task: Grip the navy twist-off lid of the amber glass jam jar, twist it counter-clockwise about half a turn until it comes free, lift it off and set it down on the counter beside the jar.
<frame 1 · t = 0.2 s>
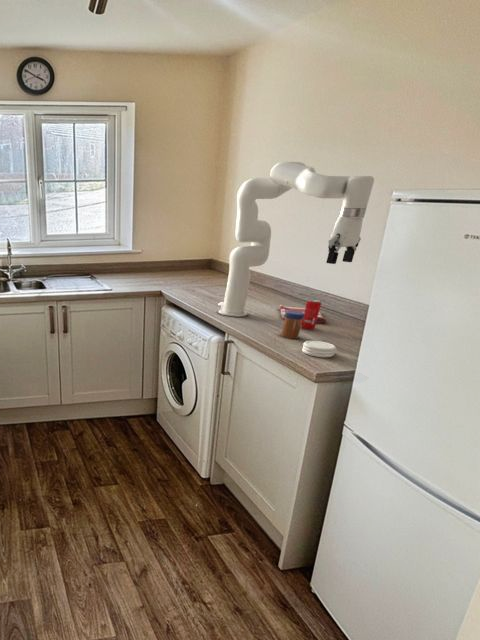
hand: (339, 262, 169), 30 cm above the worktop, tool pointing down, fingers open, 9 cm apart
coaster: (317, 354, 166), on the worktop
jam jar: (289, 336, 185), on the worktop
jam lid: (295, 313, 181), point 10 cm above the worktop, screwed on, not yet turned
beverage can: (307, 328, 196), on the worktop
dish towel: (300, 316, 215), on the worktop
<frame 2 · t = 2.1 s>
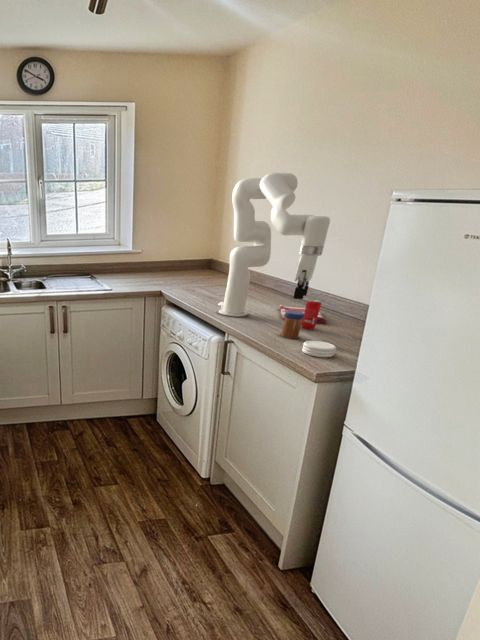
hand: (299, 296, 178), 16 cm above the worktop, tool pointing down, fingers open, 7 cm apart
nothing on the worktop moved.
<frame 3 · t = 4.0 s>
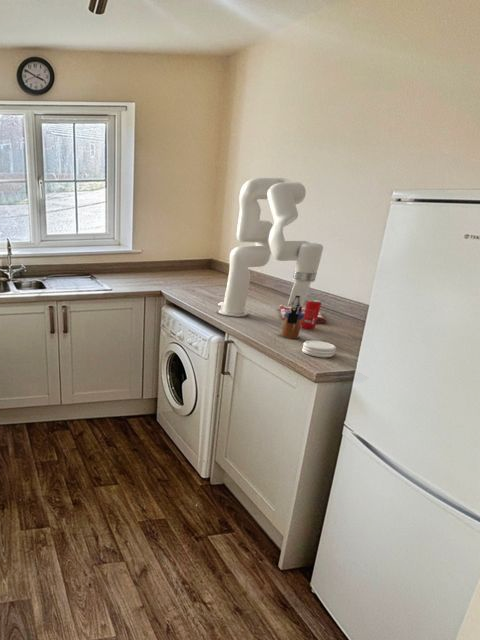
hand: (293, 321, 182), 6 cm above the worktop, tool pointing down, fingers closed on jam lid, 6 cm apart
jam lid: (295, 313, 181), point 10 cm above the worktop, screwed on, not yet turned, touching gripper
everything else where it was.
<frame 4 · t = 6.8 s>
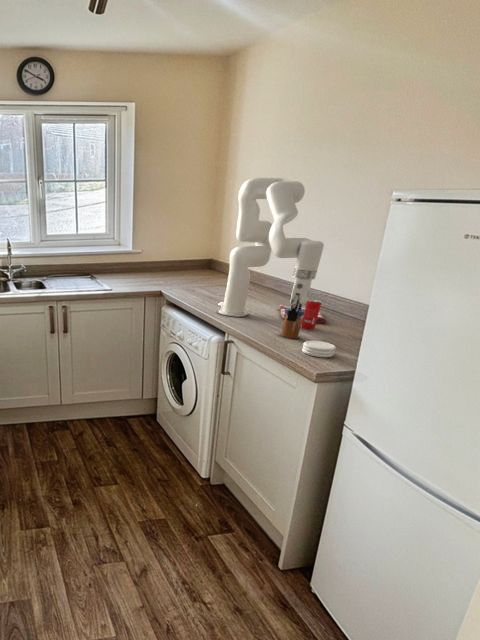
hand: (293, 318, 182), 7 cm above the worktop, tool pointing down, fingers closed on jam lid, 6 cm apart
jam jar: (289, 336, 185), on the worktop, touching gripper, jam lid
jam lid: (294, 310, 181), point 11 cm above the worktop, off its thread, touching gripper, jam jar
everything else where it was.
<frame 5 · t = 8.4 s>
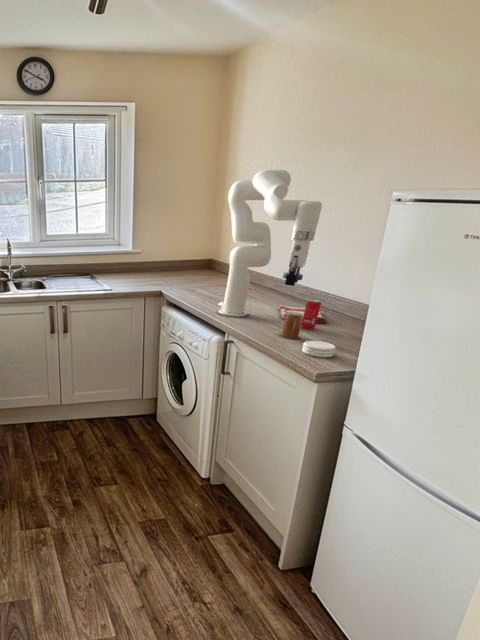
hand: (291, 283, 178), 21 cm above the worktop, tool pointing down, fingers closed on jam lid, 6 cm apart
jam jar: (289, 336, 185), on the worktop
jam lid: (293, 275, 177), point 25 cm above the worktop, off its thread, touching gripper
everything else where it was.
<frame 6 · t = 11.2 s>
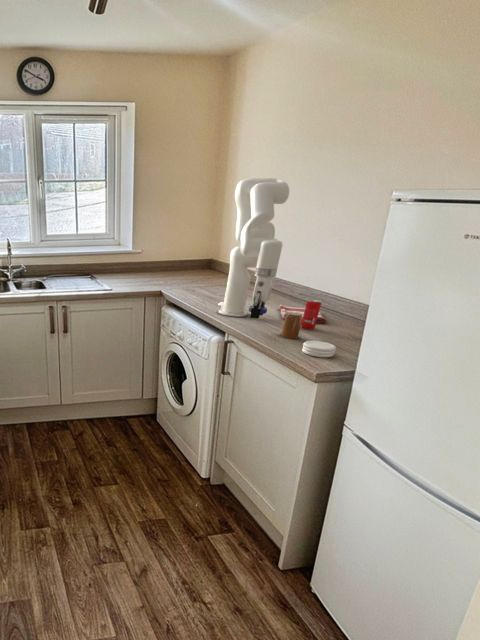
hand: (256, 316, 187), 7 cm above the worktop, tool pointing down, fingers closed on jam lid, 6 cm apart
jam lid: (258, 308, 186), point 10 cm above the worktop, off its thread, touching gripper
everything else where it was.
when the fingers open (1 cm above the worktop, at t = 13.4 s): jam lid drops 3 cm, point 1 cm above the worktop.
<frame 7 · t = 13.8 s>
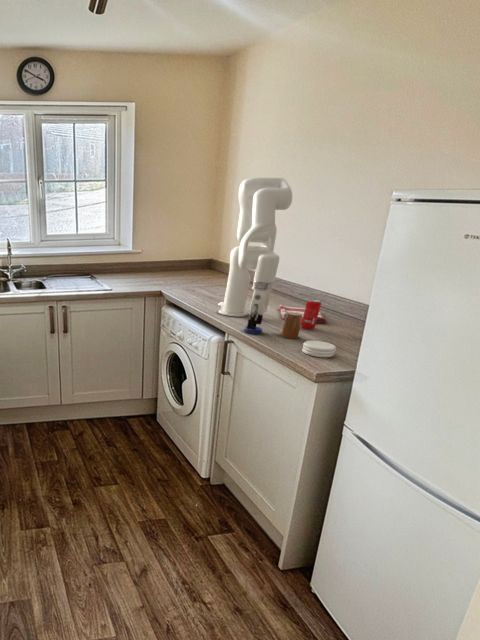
hand: (253, 326, 190), 2 cm above the worktop, tool pointing down, fingers open, 9 cm apart
jam lid: (253, 329, 190), point 1 cm above the worktop, off its thread
everything else where it was.
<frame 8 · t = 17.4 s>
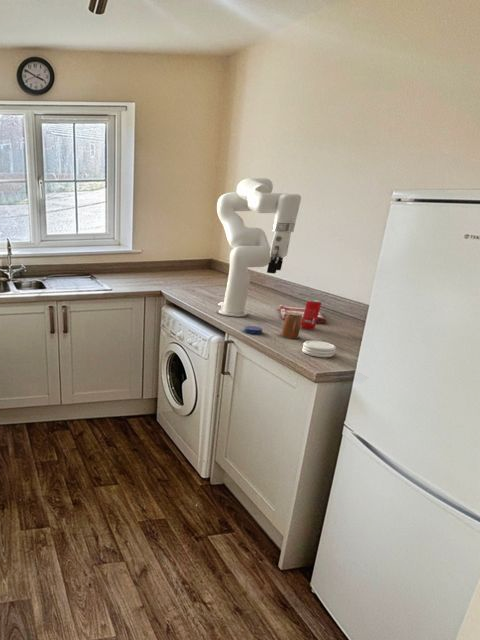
hand: (273, 271, 186), 24 cm above the worktop, tool pointing down, fingers open, 9 cm apart
nothing on the worktop moved.
at the end: jam lid came off its thread; jam lid point 1.4 cm above the worktop; the gripper is holding nothing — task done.
